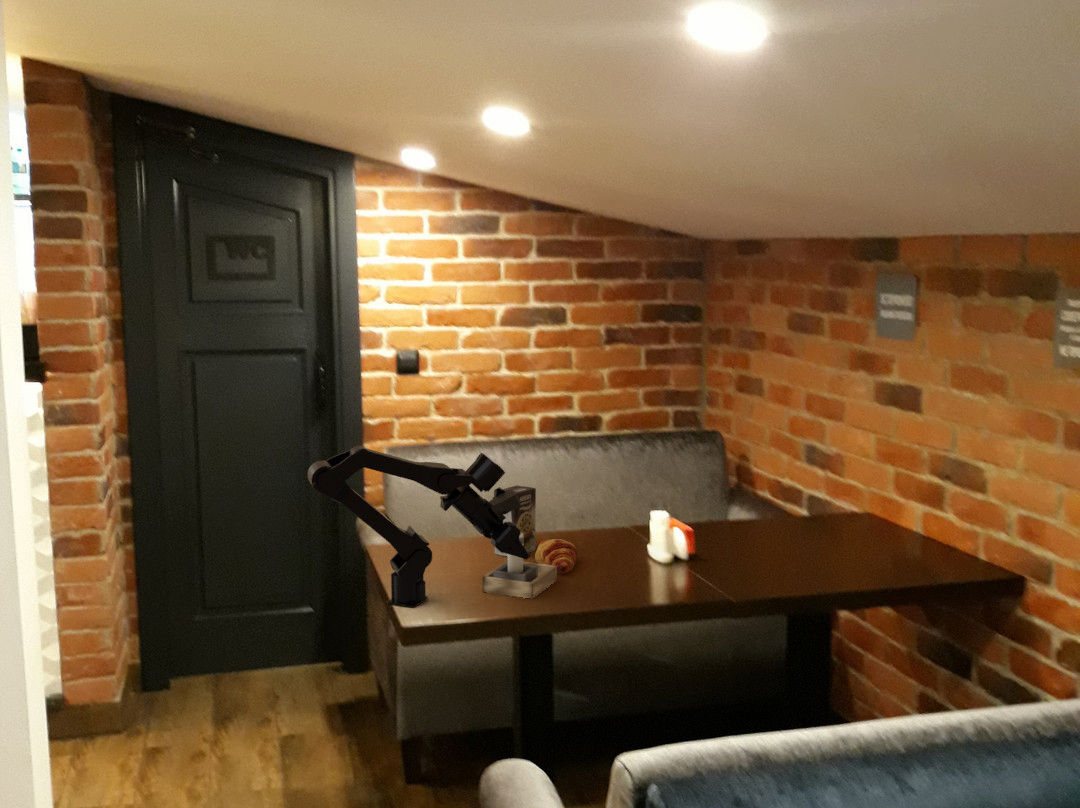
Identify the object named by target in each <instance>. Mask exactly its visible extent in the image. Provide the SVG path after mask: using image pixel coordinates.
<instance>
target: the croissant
mask: <svg viewBox="0 0 1080 808" xmlns="http://www.w3.org/2000/svg"><path fill="white" fill-rule="evenodd" d="M535 551H536V552H535V554H534V563H537V564H545V565H552V566H557V574H561V575H562V574H565V573H569V572H570V571H573V569H574V567H575V565H576V561H577V557H578V556H579V555H578V554H579V551H578V548H576V546H575V545H574V544H573V543H571V542H570V541H566V540H564V539H560V538H559V539H555V538H554V539H552V538H548V539H543V540H542V541H540V543H539V544H538V546H537V548H536V550H535Z"/></svg>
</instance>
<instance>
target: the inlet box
mask: <svg viewBox="0 0 1080 808" xmlns="http://www.w3.org/2000/svg"><path fill="white" fill-rule="evenodd" d="M557 575H558V573H557V566H552V565H545V564H539V563H537V562H529V561H523V574H518V573H511V572H508V560H506V561H505V562H503V563H502V564H500V565H499V566H498V567H496V568H494V569H493V570H491V571H489V572H488V573H486V574H485V575H483V576H482V577H481V578H482V582H481V583H482V587H481V588H482V589H481V590H482V593H484V592H487V593H486V594H491V593H496V594H495V595H498V594H502V595H501V596H505V595H510V596H509V597H512V596H517V597H516V598H518V597H523V598H522V599H525V598H531V599H530V600H533V598H534V597H535V596H536V597H538V596H539V595H540V594H541V593H542V591H543V592H544V591H546V590H547V589H548V588H549V587H551V586H552V585H553V584H555V583H556V582H557V580H558V579H557V577H558V576H557ZM554 582H555V583H554ZM551 584H552V585H551ZM550 585H551V586H550ZM546 588H547V589H546ZM539 593H540V594H539ZM538 594H539V595H538ZM537 595H538V596H537ZM536 597H535V598H536ZM535 598H534V599H535Z"/></svg>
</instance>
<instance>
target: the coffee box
mask: <svg viewBox="0 0 1080 808" xmlns="http://www.w3.org/2000/svg"><path fill="white" fill-rule="evenodd" d="M502 489H503V490H504V491H505V492H506V491H507V489H508V490H512V491H514V492H515V493H516V495H517V497H518V499H519V501H520V503H521V507H519V508H518V509H514V510H512V511H510V512H509V513H507V514H504V516H505V517H506V518H505V519H504V520H503V523H504V522H511V523H513V524H514V525H515V526H516V527H517V528H518V529H519V530H520V531H521V533H523V536H524V543H523V546H524V548H525V549H526V551H527V552H528V554H530V553H532V552H534V551H536V539H537V538H536V535H537V534H536V532H537V531H536V523H537V522H536V520H537V519H536V517H537V516H536V515H537V514H536V513H537V512H536V511H537V509H536V508H537V506H536V502H537V499H536V497H537V492H536V491H537V488H536V487H531V486H523V485H522V486H521V485H516V484H515V485H514V486H509V487H507V488H502ZM494 554H495V555H498V556H501V557H506V556H507V558H508V554H507V553H501V552H500V551H499V550H498V549H497V548H496V547H495V546H494Z"/></svg>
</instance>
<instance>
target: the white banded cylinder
mask: <svg viewBox="0 0 1080 808" xmlns="http://www.w3.org/2000/svg"><path fill="white" fill-rule="evenodd" d="M519 540H520V542H521V543H522V545H523V543H524V536H523V533H521V534H520V536H519ZM507 561H508V572H511V573H518V574H523V562H524V559H523V558H520V557H517V556H513V555H510V554H508V557H507Z"/></svg>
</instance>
